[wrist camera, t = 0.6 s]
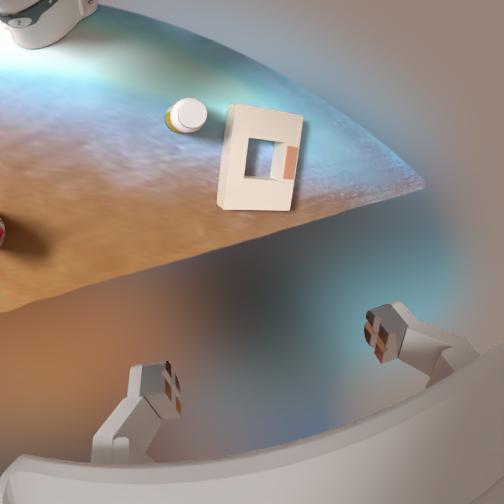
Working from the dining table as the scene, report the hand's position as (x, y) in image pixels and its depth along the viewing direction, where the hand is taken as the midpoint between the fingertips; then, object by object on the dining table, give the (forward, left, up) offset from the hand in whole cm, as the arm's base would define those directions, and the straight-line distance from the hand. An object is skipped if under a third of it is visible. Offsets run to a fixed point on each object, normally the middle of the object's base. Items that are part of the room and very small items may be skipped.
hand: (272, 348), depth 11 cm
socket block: (-4, +18, -42) cm, 46 cm away
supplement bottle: (-10, +3, -43) cm, 44 cm away
